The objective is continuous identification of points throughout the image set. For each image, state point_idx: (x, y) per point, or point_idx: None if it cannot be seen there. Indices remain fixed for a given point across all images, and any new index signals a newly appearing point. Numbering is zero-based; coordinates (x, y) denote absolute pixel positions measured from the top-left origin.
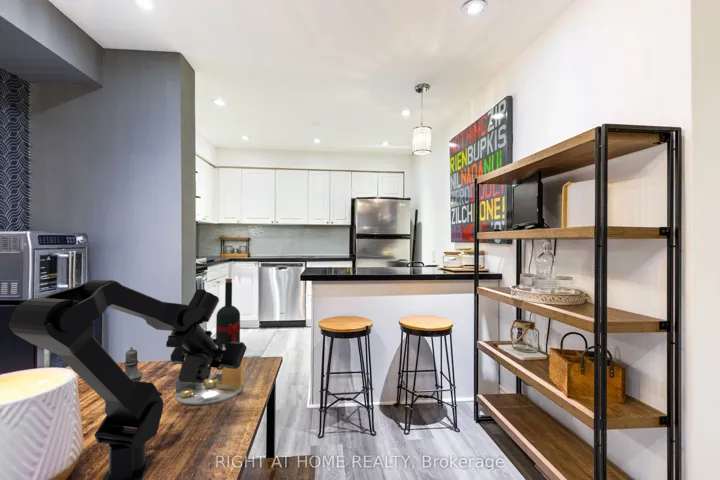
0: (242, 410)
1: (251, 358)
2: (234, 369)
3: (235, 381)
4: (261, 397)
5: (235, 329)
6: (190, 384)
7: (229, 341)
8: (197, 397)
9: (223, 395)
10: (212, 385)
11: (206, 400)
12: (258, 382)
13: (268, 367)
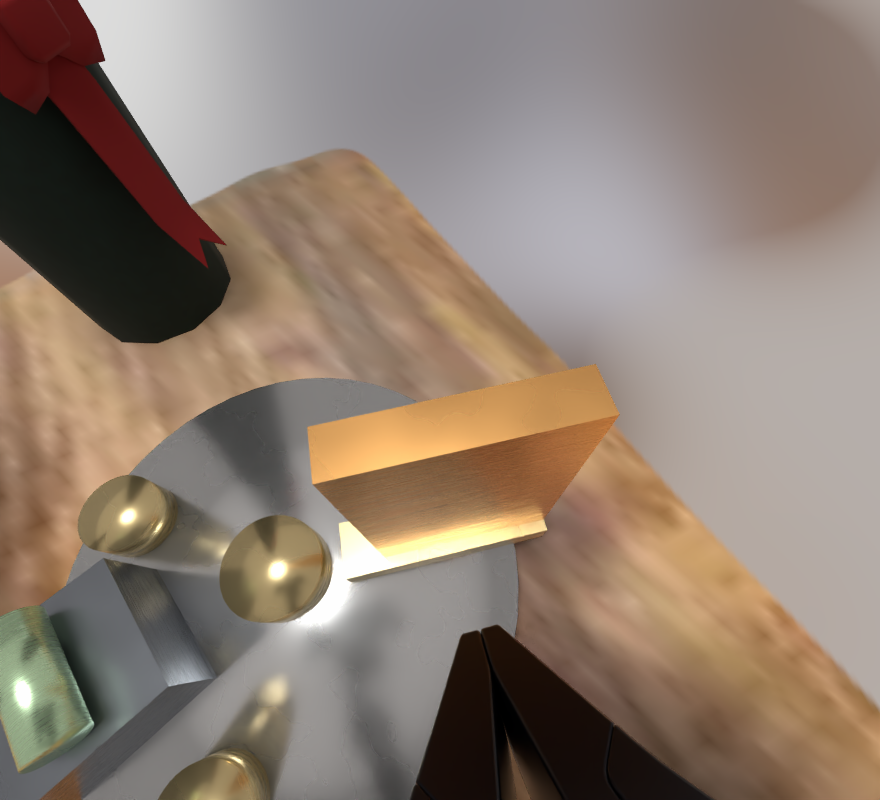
0: (738, 704)
1: (238, 193)
2: (500, 501)
3: (503, 524)
4: (670, 496)
5: (47, 22)
6: (155, 712)
7: (81, 165)
8: (327, 776)
9: None
10: (319, 593)
11: None
12: (490, 365)
13: (398, 226)
